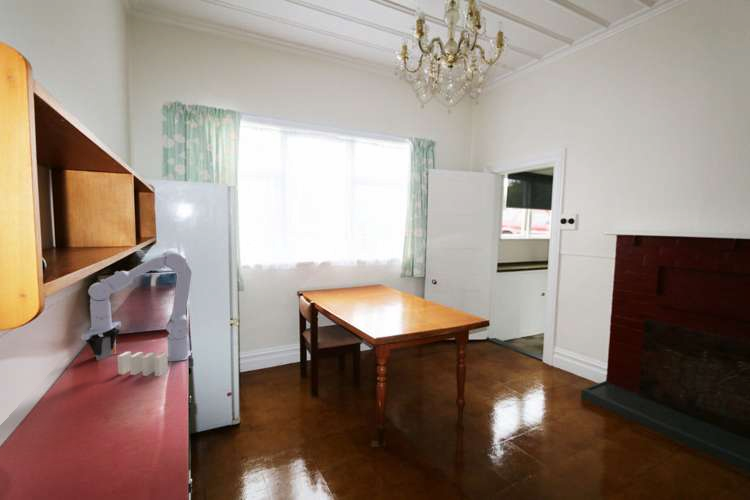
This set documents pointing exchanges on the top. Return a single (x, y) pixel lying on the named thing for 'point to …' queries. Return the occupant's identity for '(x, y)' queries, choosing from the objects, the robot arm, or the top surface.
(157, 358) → the ivory domino
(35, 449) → the top surface
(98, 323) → the robot arm
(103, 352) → the charcoal domino
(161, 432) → the top surface
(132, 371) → the ivory domino
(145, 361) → the ivory domino
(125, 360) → the ivory domino
